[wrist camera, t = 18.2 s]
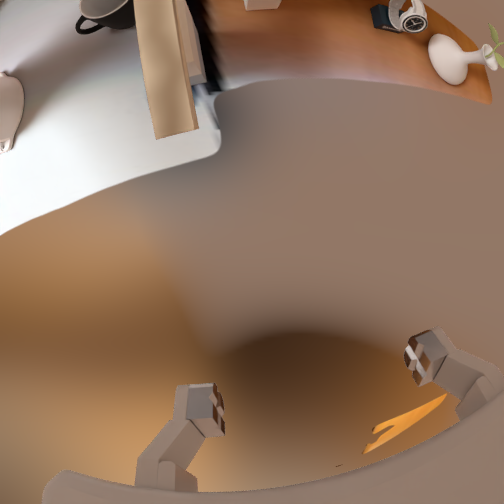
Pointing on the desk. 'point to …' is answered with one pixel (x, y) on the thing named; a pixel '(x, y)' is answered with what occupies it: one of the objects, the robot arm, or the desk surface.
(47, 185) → the desk surface
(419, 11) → the watch
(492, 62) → the flower in vase
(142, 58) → the batten
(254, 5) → the tower
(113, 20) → the mug
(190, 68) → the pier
